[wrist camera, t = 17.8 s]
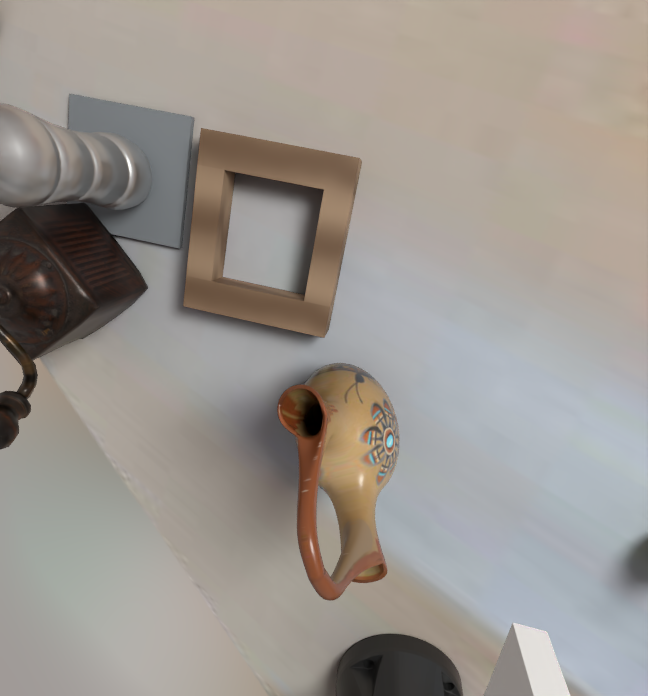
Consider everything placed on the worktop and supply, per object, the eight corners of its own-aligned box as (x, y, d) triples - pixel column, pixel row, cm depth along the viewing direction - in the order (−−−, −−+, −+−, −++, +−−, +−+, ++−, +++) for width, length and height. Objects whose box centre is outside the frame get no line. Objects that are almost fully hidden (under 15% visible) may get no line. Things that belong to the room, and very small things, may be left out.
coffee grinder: (16, 261, 50) (-180, 300, 33) (86, 199, 47) (-93, 207, 30) (111, 378, 53) (-25, 469, 36) (183, 328, 49) (71, 402, 33)
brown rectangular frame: (328, 330, 47) (324, 337, 45) (195, 300, 49) (183, 306, 46) (361, 161, 43) (359, 158, 40) (213, 133, 44) (201, 128, 41)
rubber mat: (181, 247, 47) (179, 248, 47) (70, 224, 48) (66, 224, 48) (194, 117, 44) (191, 116, 43) (73, 95, 45) (69, 93, 44)
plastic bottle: (131, 224, 47) (-51, 234, 28) (82, 170, 46) (-139, 141, 27) (174, 178, 45) (10, 154, 26) (124, 120, 44) (-84, 52, 25)
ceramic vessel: (285, 342, 48) (179, 469, 25) (369, 315, 46) (341, 424, 23) (339, 479, 52) (291, 706, 28) (419, 460, 50) (440, 686, 26)
